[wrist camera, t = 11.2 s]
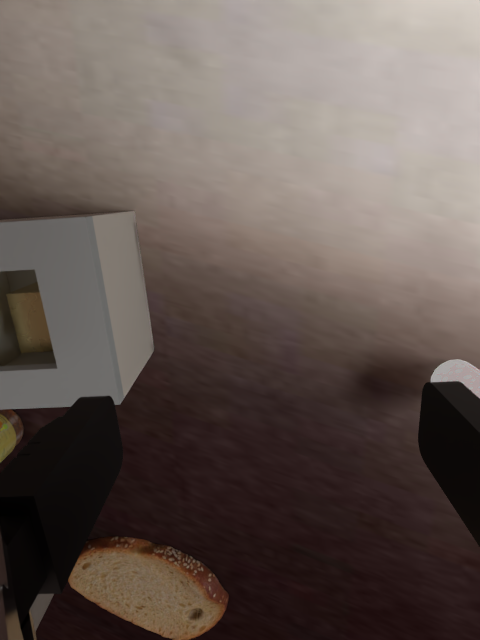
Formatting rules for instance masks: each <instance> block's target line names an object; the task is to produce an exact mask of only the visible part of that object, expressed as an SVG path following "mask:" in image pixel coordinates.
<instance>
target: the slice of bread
mask: <svg viewBox="0 0 480 640" xmlns="http://www.w3.org/2000/svg"><path fill="white" fill-rule="evenodd" d="M68 581H69V583H70V585H71V587H72V588H74V589H75V590H76V591H78V592H79V593H80V594H82V595H84V596H85V598H87V599H88V600H90V601H92V602H95V603H96V604H97V605H99V606H100V607H101V608H104V609H106V610H107V611H109V612H111V613H112V614H115V615H117V616H118V617H120V618H123V619H125V620H127V621H131V622H132V623H134V624H136V625H139V626H141V627H143V628H144V629H147V630H150V631H152V632H155V633H158V634H160V635H161V636H163V637H167V638H171V639H173V640H188V639H191V638H195V637H197V636H200V635H202V634H203V633H204V632H206V631H208V630H210V629H211V628H212V627H213V626H215V625H216V623H217V622H218V621H219V620H220V619H221V617H222V616H223V614H224V612H225V610H226V607H227V603H228V598H229V595H228V593H227V591H225V590H224V589H223V587H222V586H221V585H220V583H219V581H218V579H217V577H216V576H215V575H214V574H213V572H212V571H211V570H210V569H209V568H208V567H207V566H205V565H204V564H203V563H202V562H200V561H198V560H196V559H194V558H193V557H191V556H190V555H187V554H185V553H183V552H181V551H179V550H176V549H174V548H172V547H170V546H166V545H159V544H154V543H151V542H149V541H147V540H143V539H136V538H129V537H103V538H97V539H92V540H88V541H86V543H85V545H84V547H83V549H82V551H81V554H80V556H79V558H78V560H77V562H76V564H75V566H74V568H73V570H72V572H71V575H70V577H69V579H68Z"/></svg>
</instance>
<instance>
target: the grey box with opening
mask: <svg viewBox="0 0 480 640" xmlns="http://www.w3.org/2000/svg"><path fill="white" fill-rule="evenodd" d="M35 282H38V286H39V291H40V295H41V299H42V304H43V308H44V312H45V317H46V321H47V325H48V330H49V334H50V338H51V343H52V347H53V351H49V352H29V353H21V351H20V347H19V343H18V339H17V335H16V331H15V327H14V323H13V320H12V316H11V312H10V308H9V304H8V300H7V296H6V294H8V293H10V292H13V291H15V290H18V289H20V288H23V287H25V286H28V285H30V284H33V283H35ZM153 351H154V344H153V337H152V330H151V323H150V316H149V309H148V302H147V295H146V288H145V281H144V274H143V267H142V260H141V253H140V246H139V239H138V232H137V225H136V218H135V211H126V212H111V213H96V214H81V215H66V216H51V217H36V218H21V219H6V220H0V410H3V409H26V408H49V407H71V406H72V405H73V404H74V403H75V402H76V401H77V399H78V398H80V397H89V396H111V397H112V399H113V401H114V404H115V405H117V404H121V402H122V401H123V399H124V397H125V396H126V394H127V393H128V391H129V389H130V388H131V386H132V385H133V383H134V382H135V380H136V378H137V377H138V375H139V374H140V372H141V370H142V369H143V367H144V366H145V364H146V362H147V361H148V359H149V358H150V356H151V355H152V353H153Z"/></svg>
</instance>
